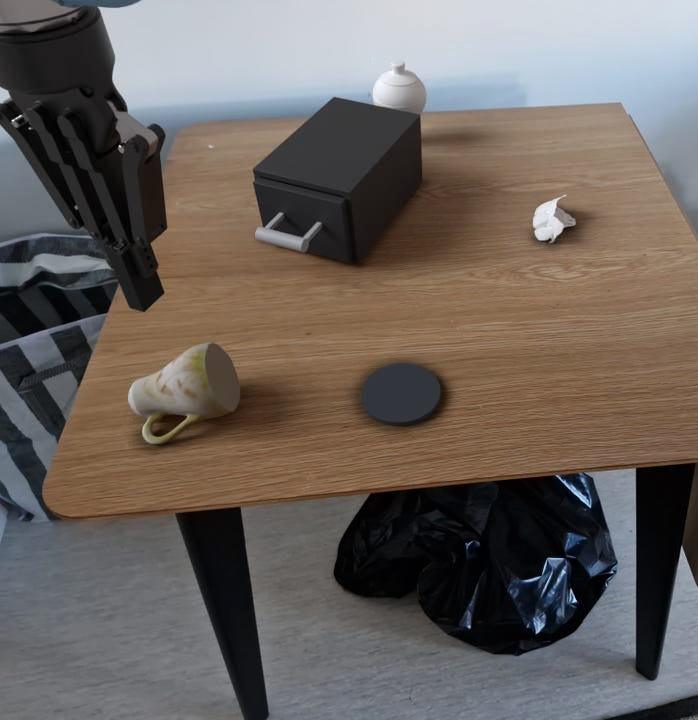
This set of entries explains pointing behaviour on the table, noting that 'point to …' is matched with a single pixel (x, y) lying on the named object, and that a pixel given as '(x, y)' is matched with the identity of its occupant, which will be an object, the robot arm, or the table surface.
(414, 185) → the cabinet
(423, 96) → the white rounded knobbed vessel
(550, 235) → the tissue
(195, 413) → the mug
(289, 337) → the table surface
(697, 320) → the table surface
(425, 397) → the coaster
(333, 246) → the drawer
